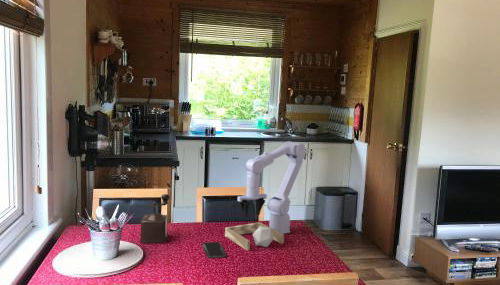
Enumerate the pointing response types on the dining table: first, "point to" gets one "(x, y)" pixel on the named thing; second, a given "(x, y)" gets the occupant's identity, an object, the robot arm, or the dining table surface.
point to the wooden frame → (236, 232)
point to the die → (263, 236)
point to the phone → (214, 250)
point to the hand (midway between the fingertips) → (251, 215)
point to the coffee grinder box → (155, 225)
